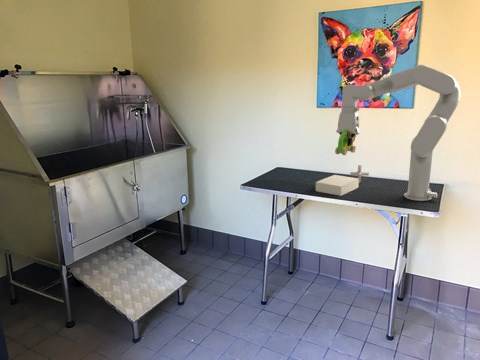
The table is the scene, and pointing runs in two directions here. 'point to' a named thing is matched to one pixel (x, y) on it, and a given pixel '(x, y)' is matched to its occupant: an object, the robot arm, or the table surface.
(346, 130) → the toy lion
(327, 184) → the cream step
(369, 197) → the table surface
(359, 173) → the pipe connector
